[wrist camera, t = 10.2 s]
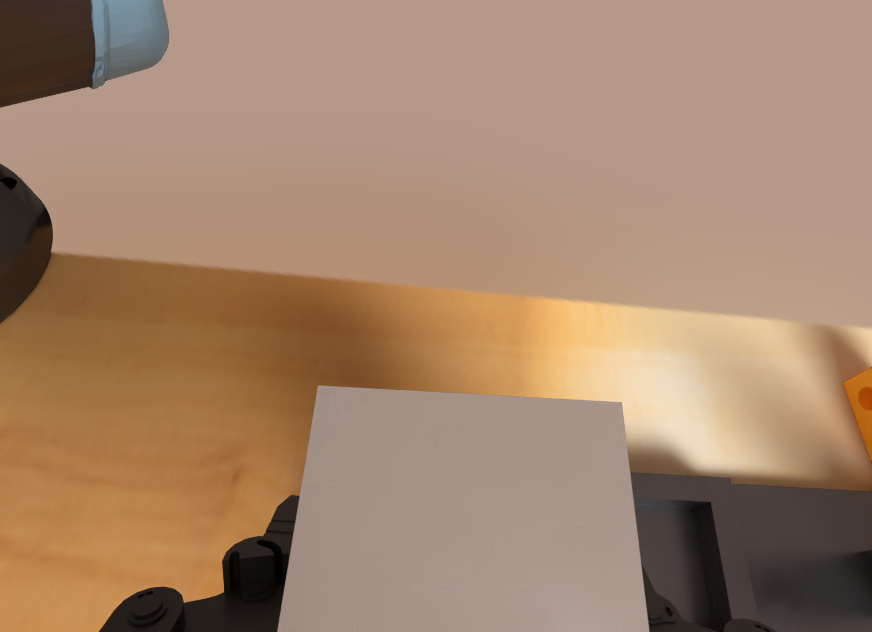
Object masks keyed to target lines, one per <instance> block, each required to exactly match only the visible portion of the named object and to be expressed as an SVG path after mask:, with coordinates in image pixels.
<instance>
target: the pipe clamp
mask: <svg viewBox="0 0 872 632" xmlns="http://www.w3.org/2000/svg"><path fill="white" fill-rule="evenodd" d="M843 385H844V388H845V390H846V393H847V396H848V399H849V401H850V404H851V407H852V410H853V412H854V415H855V418H856V421H857V424H858V426H859V429H860V432H861V435H862V437H863V440H864V443H865V446H866V448H867V451H868V454H869V457H870V459H871V462H872V367H871V368H870V369H868V370H866V371H864V372H862V373H860V374H859V375H857V376H855V377H853V378H851V379H849V380H847V381H846V382H844V383H843Z"/></svg>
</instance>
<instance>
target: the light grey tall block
mask: <svg viewBox="0 0 872 632" xmlns="http://www.w3.org/2000/svg"><path fill="white" fill-rule="evenodd" d="M277 632H649V625H648V617H647V608H646V600H645V592H644V583H643V575H642V567H641V558H640V550H639V542H638V533H637V525H636V517H635V508H634V500H633V492H632V483H631V475H630V467H629V458H628V450H627V442H626V433H625V425H624V417H623V408H622V402H606V401H588V400H570V399H552V398H534V397H517V396H499V395H481V394H463V393H445V392H428V391H410V390H392V389H374V388H356V387H339V386H321V385H318V389H317V395H316V401H315V407H314V413H313V419H312V425H311V431H310V437H309V443H308V449H307V455H306V461H305V467H304V473H303V479H302V485H301V491H300V498H299V504H298V510H297V516H296V522H295V528H294V534H293V540H292V546H291V552H290V558H289V564H288V570H287V576H286V582H285V588H284V594H283V600H282V606H281V612H280V618H279V624H278V630H277Z"/></svg>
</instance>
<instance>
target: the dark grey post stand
mask: <svg viewBox="0 0 872 632" xmlns="http://www.w3.org/2000/svg"><path fill="white" fill-rule="evenodd" d="M630 475H631V483H632V492H633V500H634V508H635V517H636V525H637V533H638V542H639V550H640V558H641V563H642V565H643V567H644V569H645V571H646V573H647V575H648V577H649V579H650V582H651V584H652V586H653V588H654V590H655V592H656V593H658V594H659V595H661V596H663V597H664V598H666V599H667V600H669V601H670V602H671V603H672V604H673V606H674V607H675V608H676V609H677V610H678V612H679V614H680V617H681V618H682V619H684V620H685V621H688V622H690V623H693V624H695V625H698V626H701V627H705V628H708V629H711V630H714V631H718V632H724V628H725V624H727V623H728V622H729V621H731V620H732V619H742V618H744V619H749V620H754V621H758V622H760V623H762V624H764V625H767V626H769V627H771V628H772V629H774V630H775V631H777V632H872V492H865V491H848V490H831V489H813V488H796V487H779V486H761V485H744V484H731V480H730V478H717V477H699V476H682V475H665V474H647V473H630Z"/></svg>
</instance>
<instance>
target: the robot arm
mask: <svg viewBox="0 0 872 632" xmlns="http://www.w3.org/2000/svg"><path fill="white" fill-rule="evenodd" d="M168 43H169V30H168V24H167V19H166V15H165V10H164V6H163V2H162V0H0V107H4V106H9V105H12V104H17V103H21V102H26V101H30V100H34V99H39V98H43V97H47V96H51V95H56V94H60V93H63V92H68V91H73V90H77V89H81V88H85V87H90V88H92V89H95V88H98V87H99V86H102V85H103V84H104V83H105V81H107V80H110V79H113V78H117V77H120V76H124V75H127V74H130V73H134V72H137V71H141V70H144V69H147V68H150V67H152V66H153V65H155V64H157V63H158V62H159V61H160V60H161V58H162V57H163V55H164V53H165V52H166V50H167V47H168ZM52 241H53V231H52V223H51V219H50V216H49V213H48V211H47V209H46V207H45V205H44V204H43V203H42V201H41V200H40V199H39V198H38V197H37V196H36V195H35V194H34V193H33V191H32V190H31V189H30V188H29V187H28V186H27V185H26V184H25V183H24V182H23V181H22V179H20V178H19V177H18V176H17V175H16V174H15V173H14V172H12V171H11V170H9V169H8V168H6V167H5V166H3V165H1V164H0V322H1V321H2V320H4V319H5V318H6V317H7V316H8V315H9V314H10V313H12V312H13V311H14V310H15V309H16V308H17V307H18V306H19V305H20V303H21V302H22V301H23V300H24V299H25V298H26V297H27V295H28V294H29V293H30V292H31V290H32V289H33V287H34V286H35V285H36V283H37V282H38V280H39V278H40V277H41V275H42V273H43V271H44V269H45V267H46V264H47V262H48V259H49V256H50V252H51V248H52ZM299 498H300V496H295V495H291V496H290V497H288V498H287V499H286V500H285V501H284V502H282V503H281V504H280V505H279V506H278V507H277V509H276V511H275V513H274V515H273V517H272V519H271V522H270V523H269V526H268V528H267V530H266V533H265V534H264V536H257V537H252V538H248V539H245V540H243V541H241V542H239V543H237V544H235V545H234V546H232V547H231V548H230V549H229V550H228V551H227V552H226V554H225V556H224V558H223V560H222V564H223V579H224V592H223V593H221V594H219V595H217V596H213V597H210V598H206V599H201V600H196V601H191V602H186V603H184V602H183V598H182V595H181V594H180V593H179V592H178V591H176V590H175V589H172V588H168V587H154V588H149V589H146V590H143V591H140V592H137V593H135V594H134V595H132V596H130V597H129V598H127V599H125V600H124V601H123V602H122V603H121V604H120V605H119V606H118V607H117V608H116V609H115V610H114V612H113V613H112V614H111V616H110V617H109V619H108V620H107V621H106V623H105V624H104V625H103V627H102V628H101V630H100V631H99V632H277V630H278V624H279V618H280V612H281V606H282V600H283V594H284V588H285V582H286V576H287V570H288V564H289V558H290V552H291V546H292V540H293V534H294V528H295V522H296V516H297V510H298V504H299ZM641 567H642V575H643V583H644V592H645V600H646V608H647V617H648V625H649V632H718V631H714V630H711V629H708V628H705V627H701V626H698V625H695V624H693V623H690V622H688V621H685V620H684V619H682V618H681V617H680V614H679V612H678V610H677V609H676V608H675V607H674V606H673V604H672V603H671V602H670V601H669V600H667V599H666V598H664V597H663V596H661V595H659V594H658V593H656V592H655V590H654V588H653V586H652V584H651V582H650V579H649V577H648V575H647V573H646V571H645V569H644V567H643V565H642V563H641ZM724 632H777V631H775V630H774V629H772V628H771V627H769V626H767V625H764V624H762V623H760V622H758V621H754V620H749V619H744V618H742V619H732V620H731V621H729V622H728V623H727V624H725V628H724Z"/></svg>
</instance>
